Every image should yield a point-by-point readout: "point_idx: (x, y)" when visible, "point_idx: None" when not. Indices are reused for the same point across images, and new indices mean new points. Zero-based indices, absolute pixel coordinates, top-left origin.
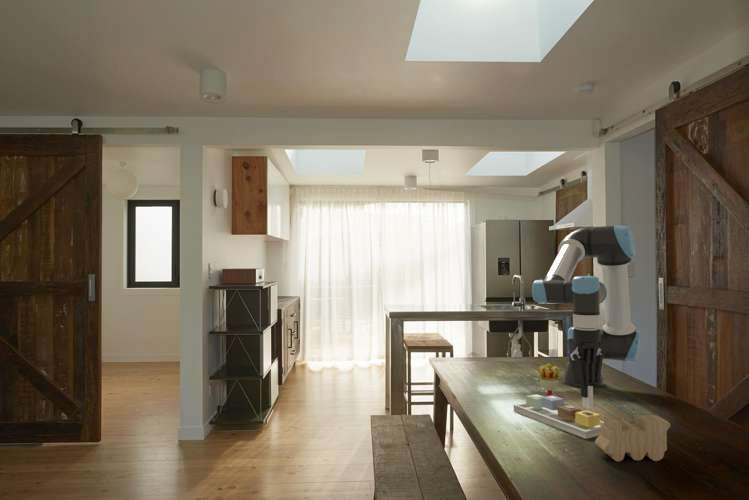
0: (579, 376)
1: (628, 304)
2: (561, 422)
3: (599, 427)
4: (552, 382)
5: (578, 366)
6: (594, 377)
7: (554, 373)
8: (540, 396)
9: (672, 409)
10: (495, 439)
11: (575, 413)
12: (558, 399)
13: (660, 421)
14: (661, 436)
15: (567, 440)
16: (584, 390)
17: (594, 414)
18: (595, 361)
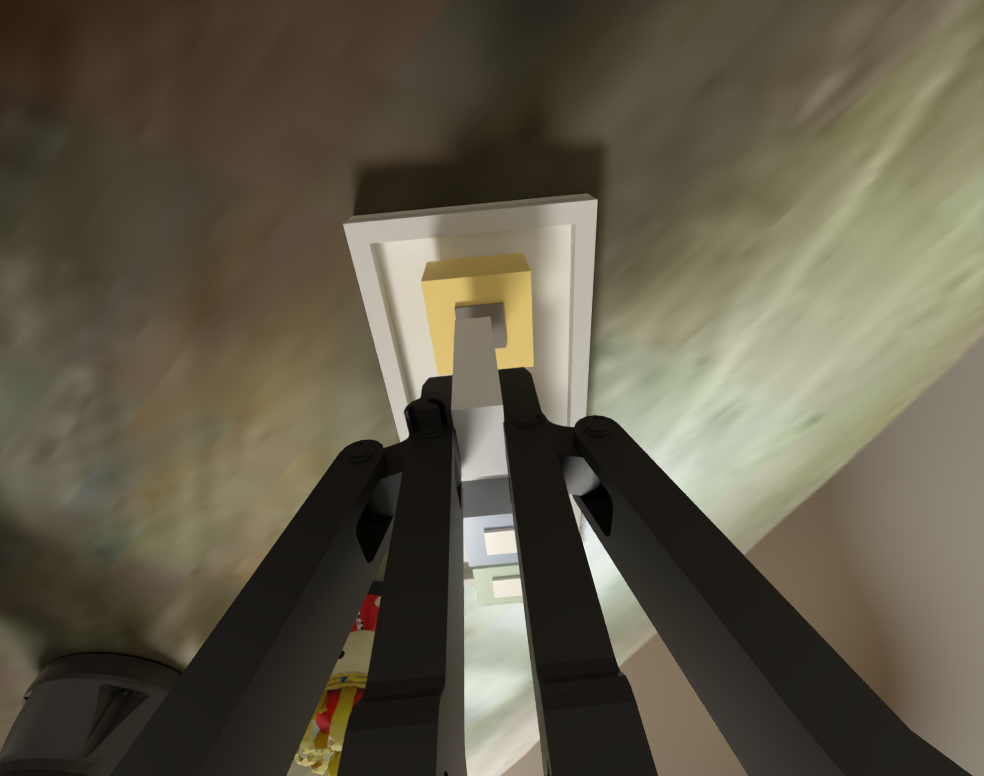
0: (676, 494)
1: None
2: (584, 368)
3: (462, 227)
4: (364, 663)
5: (805, 627)
6: (410, 482)
7: (346, 712)
8: (497, 581)
9: None
10: (922, 350)
11: (533, 362)
12: (493, 517)
13: None
14: None
15: (686, 213)
16: (537, 403)
17: (452, 298)
18: (368, 726)
